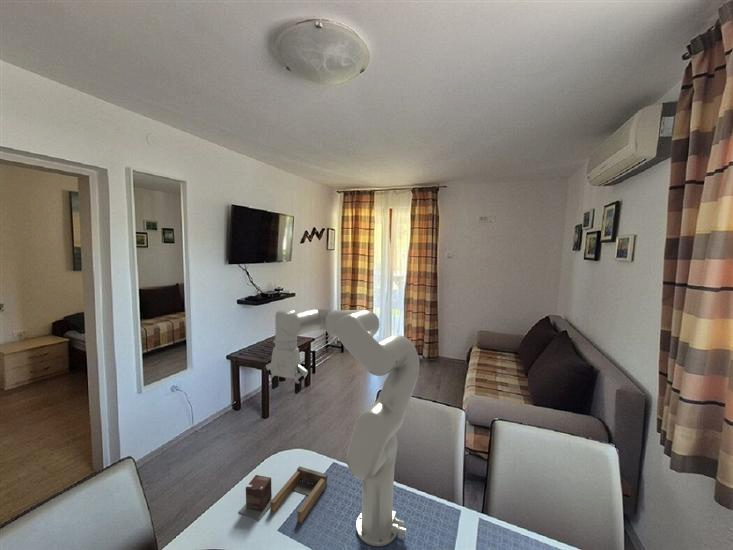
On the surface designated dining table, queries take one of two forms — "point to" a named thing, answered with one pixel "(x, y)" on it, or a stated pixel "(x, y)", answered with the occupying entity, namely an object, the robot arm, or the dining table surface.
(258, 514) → the pad
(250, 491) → the box
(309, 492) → the channel
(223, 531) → the dining table surface
